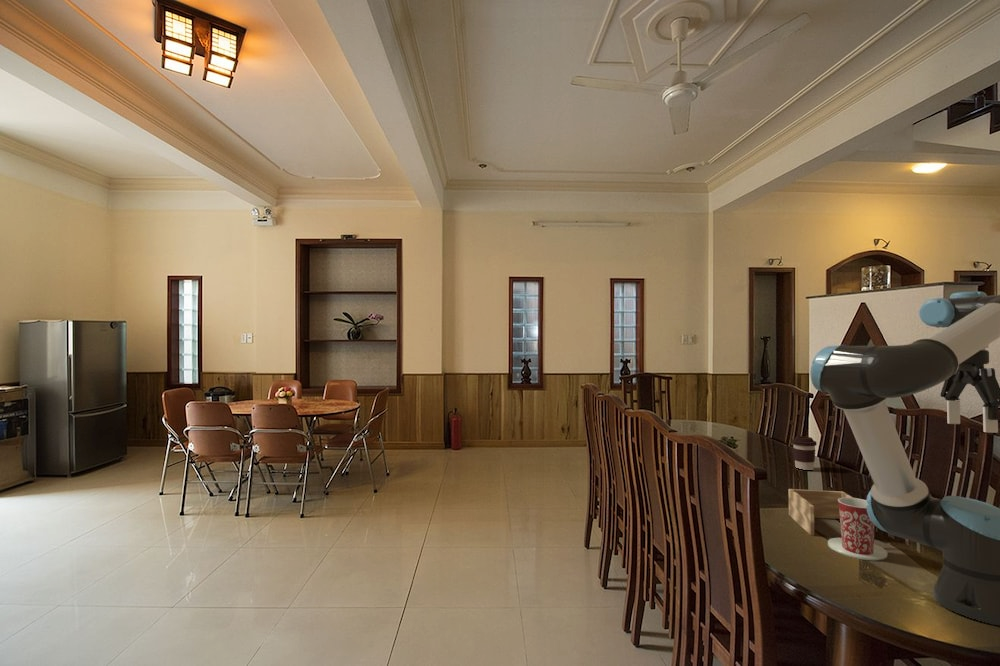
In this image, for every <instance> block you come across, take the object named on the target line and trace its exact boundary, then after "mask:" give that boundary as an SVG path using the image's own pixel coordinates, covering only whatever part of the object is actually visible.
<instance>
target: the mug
mask: <svg viewBox="0 0 1000 666" xmlns="http://www.w3.org/2000/svg"><path fill="white" fill-rule="evenodd" d="M866 500H867V499H862V498H857V497H853V498H839V499H838V503H839V513H840V519H839V521H840V522H839V523H840V534H841V537H840V538H842V547H843V548H844V549H845V550H847V551H849V552H852V553H856V554H862V555H870V554H872V553H873V549H874V544H875V543H874V542H875V527H876V526H875V525H874V524H873V522H872V521H871V520H870V518H869V516H868V513H867V508H866V506H867V505H868V503H867V502H866Z"/></svg>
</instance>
